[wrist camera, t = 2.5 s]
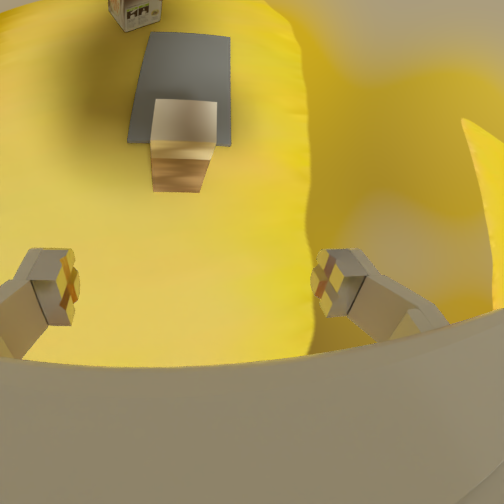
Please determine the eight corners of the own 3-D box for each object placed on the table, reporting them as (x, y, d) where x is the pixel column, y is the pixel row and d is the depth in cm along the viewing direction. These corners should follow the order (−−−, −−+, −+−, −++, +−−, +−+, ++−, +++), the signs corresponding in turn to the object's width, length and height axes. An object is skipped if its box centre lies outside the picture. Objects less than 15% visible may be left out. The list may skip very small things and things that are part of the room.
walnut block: (153, 191, 31) (150, 140, 20) (155, 158, 31) (155, 98, 21) (199, 192, 32) (216, 142, 22) (199, 159, 33) (217, 102, 22)
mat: (127, 143, 31) (127, 140, 30) (150, 34, 34) (150, 31, 33) (230, 146, 34) (231, 144, 33) (229, 39, 37) (230, 37, 36)
